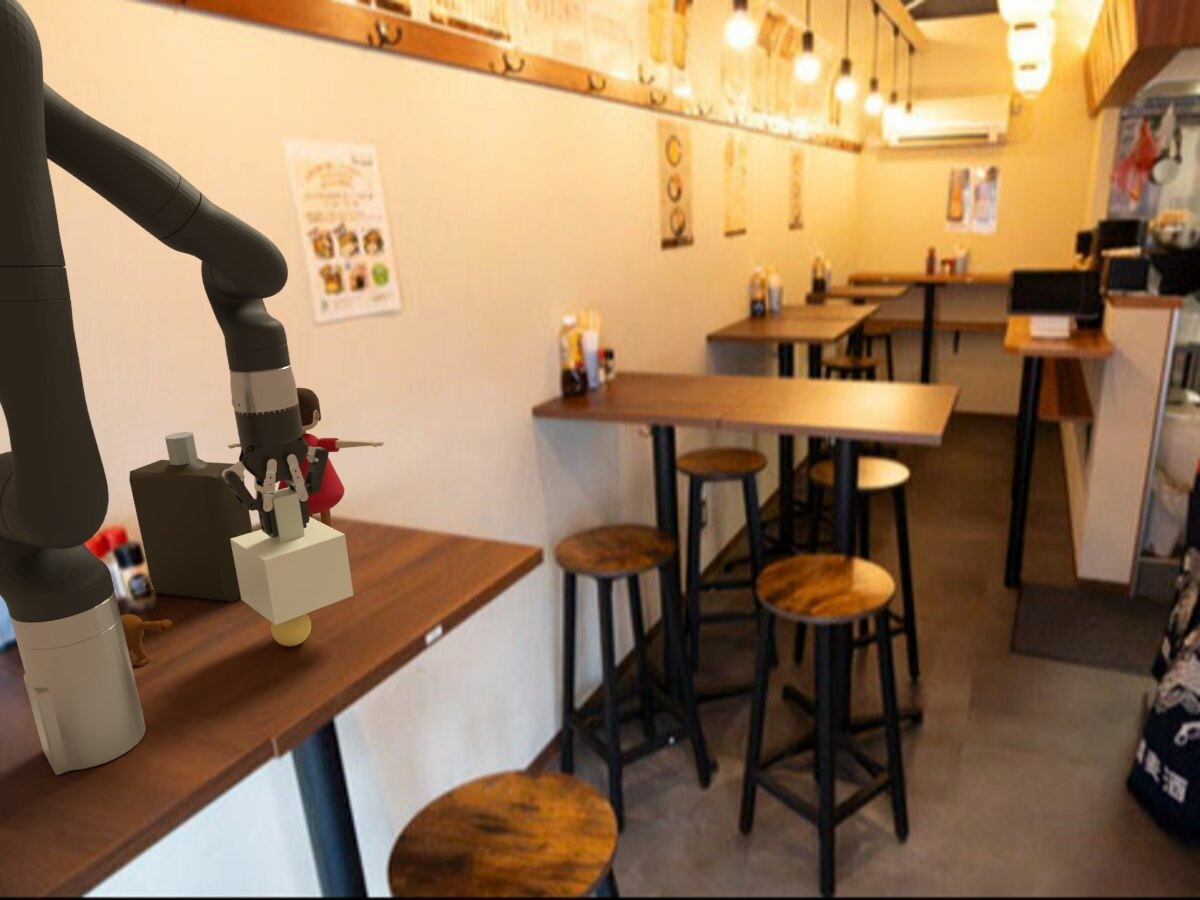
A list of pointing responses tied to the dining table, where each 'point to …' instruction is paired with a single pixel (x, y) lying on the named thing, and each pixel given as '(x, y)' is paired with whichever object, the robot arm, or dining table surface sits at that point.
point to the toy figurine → (140, 635)
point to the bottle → (188, 523)
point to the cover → (292, 564)
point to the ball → (292, 630)
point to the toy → (331, 483)
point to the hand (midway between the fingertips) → (287, 530)
